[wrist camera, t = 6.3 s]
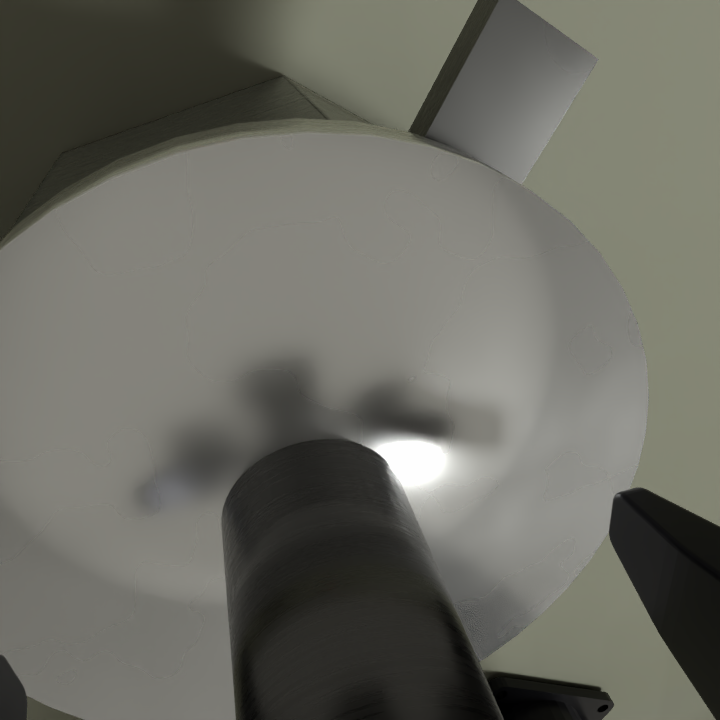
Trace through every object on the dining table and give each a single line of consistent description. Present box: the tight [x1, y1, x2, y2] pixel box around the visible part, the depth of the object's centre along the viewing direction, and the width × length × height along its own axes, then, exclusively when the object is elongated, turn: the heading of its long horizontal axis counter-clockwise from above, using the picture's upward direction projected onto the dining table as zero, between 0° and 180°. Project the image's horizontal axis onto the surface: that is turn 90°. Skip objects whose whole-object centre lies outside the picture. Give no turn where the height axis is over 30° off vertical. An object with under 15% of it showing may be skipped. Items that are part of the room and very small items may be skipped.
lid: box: [0, 118, 649, 720], centre depth 10 cm, size 12×12×6 cm
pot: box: [10, 0, 598, 231], centre depth 14 cm, size 11×16×5 cm
